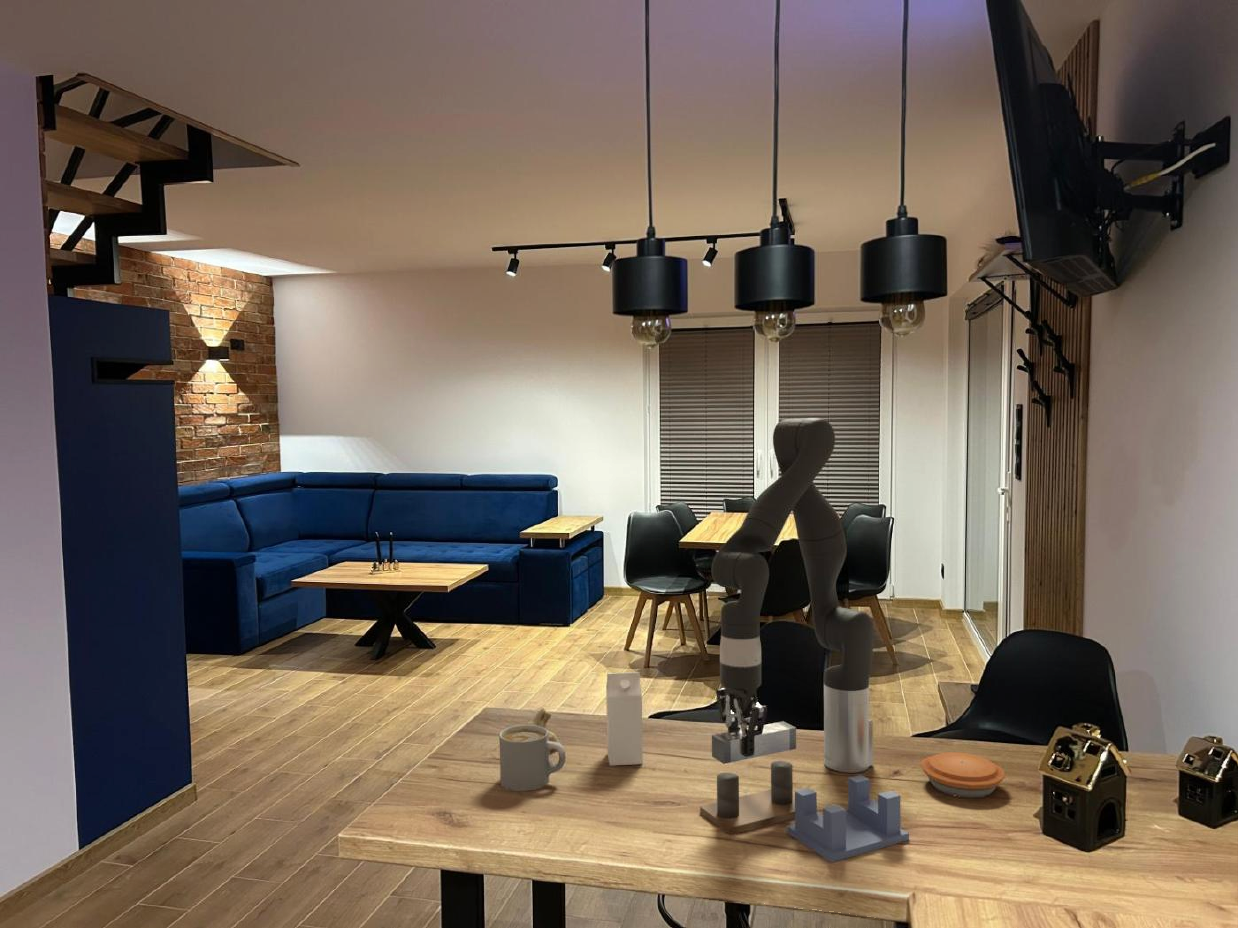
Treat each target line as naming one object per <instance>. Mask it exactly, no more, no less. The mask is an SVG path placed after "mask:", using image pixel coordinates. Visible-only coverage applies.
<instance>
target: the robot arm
mask: <svg viewBox="0 0 1238 928" xmlns="http://www.w3.org/2000/svg"><path fill="white" fill-rule="evenodd" d="M835 435H836V434H835V431H834V428H833V425H831V423H830V422H829V421H828V420H826V419H823V418H819V417H807V418H806V417H805V418H789V419H783V420H780V421H779V422H778V423H777V424H776V425H775V427H774V430H773V434H772V445H773V451H774V455H775V458H776V462H777V465H778V469H779V471H780V474H781V476H780V477H779V478H777V479H776V480H775V481H773V483H771V484H770V485H769V486H768V487H767V488H765V489H764V490H763V491H762V492H761V493H760V494H759V496H758V497H756V499H755V500H754V502H753V503H752V505H751V507H750V508H749V510H748V513H747V514H746V516H745V518H744V520H743V522H742V523H741V526H740V527H739V528H738V530H736V531H735V532H734V533H733V534H732V535H731V537H729V539H727V540H726V542H725V543H724V544H723V545H722V546H721V547H720V548H719V550H718V551H716V554H715V555H714V558H713V559H712V563H711V577H712V579H713V582H714V583H715V584H716V585H718V586H719V587H722V588H726V589H733V590H739V591H740V594H739V597H738V600H734V601H728V602H726V603H724V604H723V605H722V607H721V610H720V641H719V643H720V644H719V683H720V685H721V686H722V688H718V689H716V690H715V694H716V701H717V706H718V712H719V718H720V721H721V722H723V723H725V727H726V728H727V732H731V731H736V730H742V735H743V736H742V755H743V756H745V757H748V756H753V755H754V751H755V749H754V737H755V736H756V735H761V734H762V732H763V728H764V725H765V723H766V719H767V714H768V707H767V705H761V704H760V703H759V702H758V700H759V699H758V696H757V690H758V688H759V687H760V686H762V645H761V633H760V631H761V630H760V629H761V628H760V614H761V609H762V606H763V602H764V597H765V594H766V590H767V587H768V583H769V578H770V568H769V564H768V562H767V560H766V559H765V558H764V556H763V555H761V554H760V553H763V552H767V551H769V550H771V549H773V547H774V546H775V544H776V542H777V540H778V538H779V537H780V535H781V532H782V530H783V528H784V527H785V524H786V523H787V520H788V519H789V517H790V516H791V515H790V514H791V513H792V515H793V519H794V524H795V529H796V534H797V535H796V536H797V539H798V544H799V547H800V552H801V556H802V558H803V559H802V560H803V564H804V568H805V572H806V579H807V583H808V588H809V589H808V590H809V594H810V596H809V597H810V602H811V611H812V613H811V614H812V621H813V627H814V633H815V637H816V639H817V641H818V643H819V644H820V646H822V647H823V648H825V649H827V650H831V651H834V652H839V653H842V663H841V664H838V665H833V666H829V667H827V668H826V669H825V670H824V673H823V733H824V734H823V743H824V745H823V748H824V749H823V751H824V752H823V753H824V754H823V755H824V757H823V758H824V759H823V761H824V765H825V767H826V768H828V769H831V770H833V771H837V772H841V773H848V774H849V773H851V774H852V773H860V772H864V771H867V770H868V769H869V768H870V767H871V766H874V721H873V719H870V677H871V674H872V669H873V653H874V652H873V651H874V637H875V636H874V635H875V634H874V625H873V621H872V618H871V616H870V615H869V614H868V613H867V612H864V611H862V610H858V609H852V608H847V607H843V606H841V605H840V602H839V599H838V595H837V581H838V580H837V579H838V577H839V574H840V572H841V569H842V568H843V565H844V563H845V561H846V557H847V552H848V551H847V549H848V547H847V541H846V537H845V532H844V528H843V523H842V520H841V517H840V516H839V514H838V512H837V511H836V510H835V508H834V507H833V506H832V504H831V503H830V502H829V501H828V499H827V498H826V497H825V496H824V495H823V494H822V492H821V491H820V490H819V489H818V487H817V485H816V484H815V483H814V480H815V479H816V478H817V476H818V475H819V473H820V472H821V471H822V470H823V468H824V466H825V465H826V464H827V463H828V461H829V460H830V458H831V456H832V454H833V452H834V450H835V444H836V436H835ZM747 716H748V717H747ZM744 717H746V718H744ZM748 723H749V724H748ZM747 724H748V725H747ZM756 726H757V728H756ZM747 728H748V729H747Z"/></svg>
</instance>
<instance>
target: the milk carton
mask: <svg viewBox="0 0 1238 928" xmlns="http://www.w3.org/2000/svg"><path fill="white" fill-rule="evenodd" d="M605 686H606V687H605V689H606V691H605V692H606V698H605V699H606V742H607V743H606V749H607V751H606V752H607V757H608V763H609V766H628V765H630V766H631V765H643V763H644V761H643V760H644V757H643V755H644V752H643V751H644V750H643V749H644V747H643V696H642V694H643V693H642V683H641V672H639V671H638V672H636V671H633V672H615V673H614V672H613V673H607V674H606V685H605Z"/></svg>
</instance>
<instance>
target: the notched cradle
mask: <svg viewBox="0 0 1238 928" xmlns="http://www.w3.org/2000/svg"><path fill="white" fill-rule="evenodd" d="M847 779H848V780H847V781H848V782H847V783H848V788H847V789H848V790H847V791H848V797H847V798H848V799H847V800H848V802H847V803H848V809H846V808H844V807H843V806H841V805H839V804H833V805H830V806H826V807H822V814H821V813H819V812H818V811H817V807H818V806H817V804H818V801H817V794H818V793H817V792H816V791H814V790H813V789H811V788H810V787H806V788H801V789H797V790H795V791H794V797H795V818H794V823H793V824H788V825H786V833H787V834H789V836H791V837H793V838H794V839H795V840H797V841H799V842H801V844H803V845H805V846H806V847H808V848H809V849H810V850H811V851H813V852H814V853H816V854H817V855H819V856H821V857H822V858H824V859H825V860H826V861H828V862H829V863H835V862H838V861H841V860H846V859H849V858H852V857H856V856H859V855H862V854H865V853H869V852H873V851H876V850H879V849H880V850H881V849H883V848H886V847H890V846H892V845H896V844H900V843H904V842H906V841H910V833H909V832H908V831H906V830H905V829H903V828H901V823H902V822H901V813H902V812H901V795H900V794H899V793H897V792H895V791H893V790H888V791H884V792H880V793H878V794H877V801H876V800H874V799H872V798H870V795H871V794H870V793H871V791H870V789H871V788H870V787H871V786H870V785H871V783H870V782H871V781H870V778H868V777H866V776H864V775H862V774H860V775H856V776H851V777H848V778H847Z"/></svg>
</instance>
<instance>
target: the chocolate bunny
mask: <svg viewBox="0 0 1238 928" xmlns="http://www.w3.org/2000/svg"><path fill="white" fill-rule="evenodd" d="M551 717H552V713H551V712H549V711H547V710H546V709H545V708H543V707H542V708H541V709H540V710H538V711H537V713H536V715H535V716H534V717H533V718H532V719H531V720H530V721H529V722H527V723H526V725H536V726H541V727H543V728H545V729H547V723H548V722H549V720H550V719H551ZM547 731H548V740H549V741H551V742H557V743H560V741H559V739H558V737H557V735H556V734H555V733H554V732H552V731H550V730H547ZM560 744H561V743H560ZM555 752H557V751H556V750H555V749H551V750H550V754H552V753H555Z"/></svg>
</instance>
